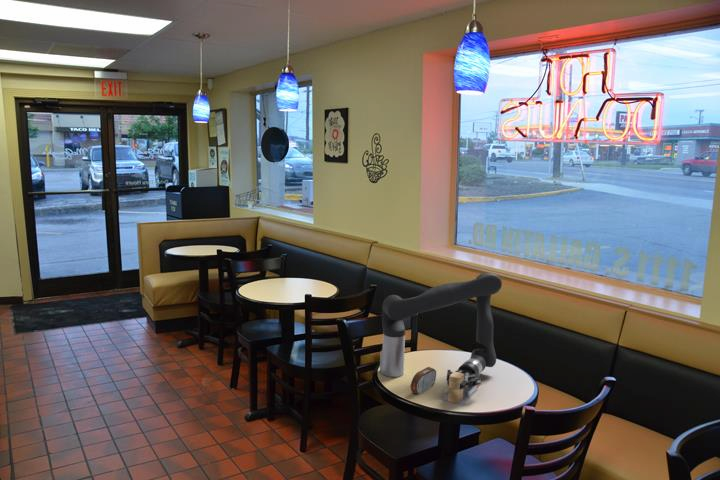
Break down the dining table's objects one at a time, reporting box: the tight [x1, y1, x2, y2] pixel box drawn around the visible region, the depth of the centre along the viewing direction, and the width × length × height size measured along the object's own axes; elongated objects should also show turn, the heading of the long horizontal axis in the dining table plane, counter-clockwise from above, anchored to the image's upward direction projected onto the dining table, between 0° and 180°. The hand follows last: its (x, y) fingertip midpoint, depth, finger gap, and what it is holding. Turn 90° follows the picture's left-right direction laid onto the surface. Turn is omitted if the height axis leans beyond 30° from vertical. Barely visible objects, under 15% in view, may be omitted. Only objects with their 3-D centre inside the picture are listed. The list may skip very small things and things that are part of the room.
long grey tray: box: [442, 380, 482, 407], centre depth 213 cm, size 8×23×2 cm, turn 149°
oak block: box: [447, 371, 464, 405], centre depth 205 cm, size 4×5×10 cm
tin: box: [410, 366, 437, 395], centre depth 214 cm, size 15×3×8 cm, turn 141°
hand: (454, 385), depth 204 cm, fingers closed on oak block, 4 cm apart
